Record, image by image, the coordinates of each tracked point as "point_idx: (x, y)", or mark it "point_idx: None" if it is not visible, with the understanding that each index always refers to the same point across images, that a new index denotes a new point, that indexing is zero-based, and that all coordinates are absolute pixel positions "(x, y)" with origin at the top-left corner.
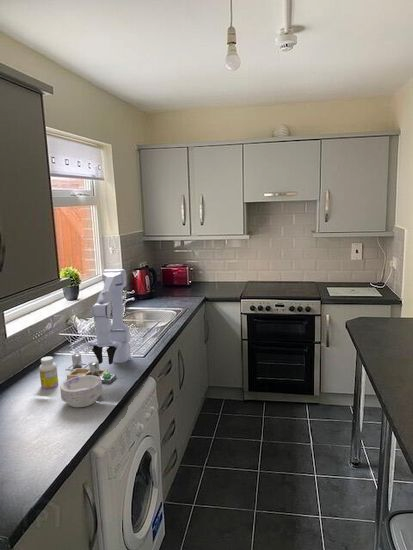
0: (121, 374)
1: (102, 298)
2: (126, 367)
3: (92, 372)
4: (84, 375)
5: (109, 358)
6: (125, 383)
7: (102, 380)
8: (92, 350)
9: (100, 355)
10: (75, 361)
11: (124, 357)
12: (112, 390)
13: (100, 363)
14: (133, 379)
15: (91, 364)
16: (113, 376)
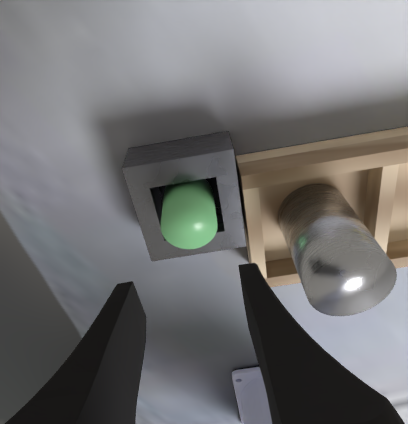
0: (177, 295)
1: None
2: (209, 358)
3: (326, 209)
4: (384, 170)
5: (94, 337)
6: (56, 212)
7: (189, 153)
8: (379, 403)
9: (261, 359)
10: None
11: (249, 417)
12: (50, 85)
13: (239, 270)
14: (56, 269)
15: (362, 260)
16: (141, 227)
